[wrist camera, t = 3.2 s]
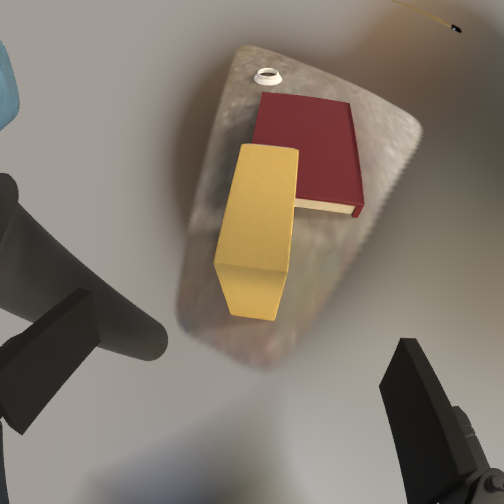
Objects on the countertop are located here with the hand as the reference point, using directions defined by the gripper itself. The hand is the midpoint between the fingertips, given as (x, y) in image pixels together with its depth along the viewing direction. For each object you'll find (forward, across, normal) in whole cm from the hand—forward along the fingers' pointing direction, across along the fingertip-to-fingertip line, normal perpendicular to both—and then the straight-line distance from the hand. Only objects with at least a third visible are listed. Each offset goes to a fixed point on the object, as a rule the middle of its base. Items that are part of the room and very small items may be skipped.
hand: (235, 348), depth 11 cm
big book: (+25, +3, +7) cm, 26 cm away
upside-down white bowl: (+36, -3, +18) cm, 40 cm away
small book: (+15, 0, -4) cm, 15 cm away
